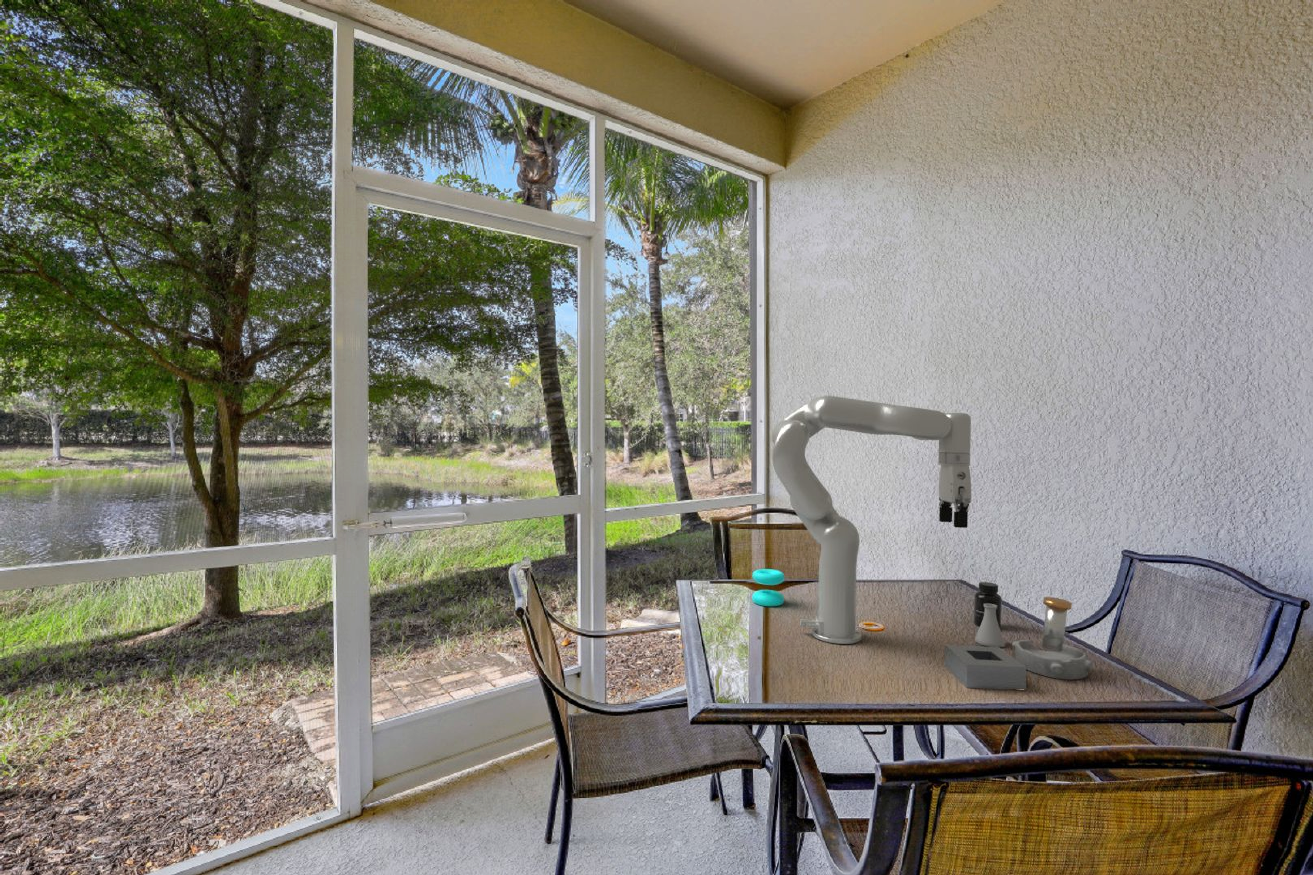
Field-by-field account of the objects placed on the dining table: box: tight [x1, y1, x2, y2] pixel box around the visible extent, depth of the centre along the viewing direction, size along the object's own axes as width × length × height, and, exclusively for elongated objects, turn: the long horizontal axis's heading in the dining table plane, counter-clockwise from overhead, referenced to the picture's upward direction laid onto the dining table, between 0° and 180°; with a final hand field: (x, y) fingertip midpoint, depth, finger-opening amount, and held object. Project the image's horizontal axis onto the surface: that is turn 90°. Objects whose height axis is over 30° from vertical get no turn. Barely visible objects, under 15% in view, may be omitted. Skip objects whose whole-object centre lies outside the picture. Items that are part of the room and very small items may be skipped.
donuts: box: [751, 568, 785, 607], centre depth 192 cm, size 10×10×10 cm
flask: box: [974, 604, 1006, 648], centre depth 157 cm, size 7×7×10 cm
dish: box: [1012, 639, 1094, 680], centre depth 140 cm, size 14×14×5 cm
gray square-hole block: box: [944, 644, 1027, 691], centre depth 135 cm, size 12×12×5 cm
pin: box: [1041, 596, 1073, 652], centre depth 140 cm, size 5×5×11 cm
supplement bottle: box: [973, 581, 1003, 629], centre depth 172 cm, size 7×7×12 cm
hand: (952, 524), depth 160 cm, fingers open, 9 cm apart
